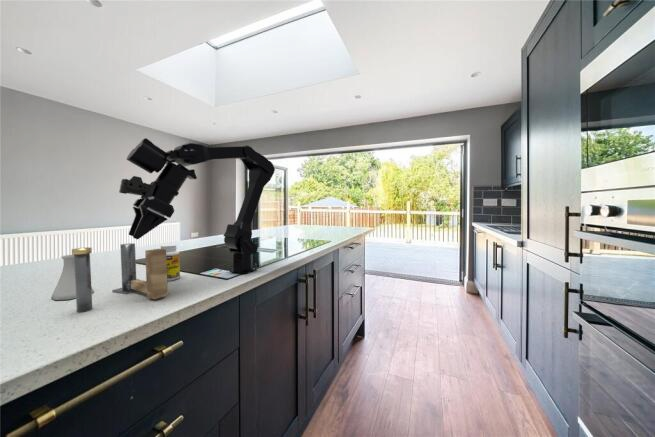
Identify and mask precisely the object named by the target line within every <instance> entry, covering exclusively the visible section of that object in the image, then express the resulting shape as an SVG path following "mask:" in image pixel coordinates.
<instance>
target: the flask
mask: <svg viewBox="0 0 655 437" xmlns="http://www.w3.org/2000/svg"><path fill="white" fill-rule="evenodd" d="M61 259H63V266H62V270H61V271H62V272H61V274H60V276H59V279H58V281H57V284H56V286H55V288H54V290H53V292H52V295H51V297H50V298H51V299H52V300H54V301H61V300H62V301H63V300H64V301H65V300H66V301H67V300H73V299H76V285H75V266H74V255H72V254H65V255H61ZM91 288H92V294H93V293H94V292H95V291H94V289H93V286H91Z"/></svg>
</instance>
